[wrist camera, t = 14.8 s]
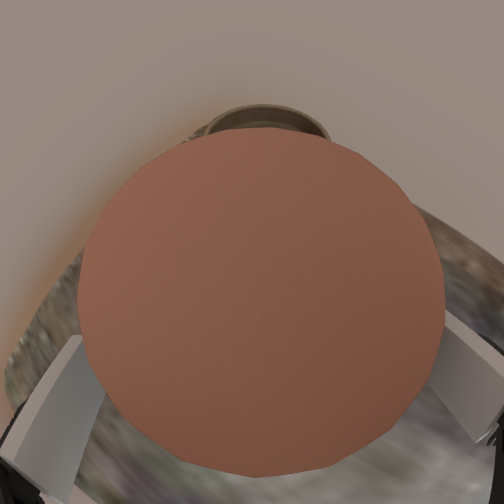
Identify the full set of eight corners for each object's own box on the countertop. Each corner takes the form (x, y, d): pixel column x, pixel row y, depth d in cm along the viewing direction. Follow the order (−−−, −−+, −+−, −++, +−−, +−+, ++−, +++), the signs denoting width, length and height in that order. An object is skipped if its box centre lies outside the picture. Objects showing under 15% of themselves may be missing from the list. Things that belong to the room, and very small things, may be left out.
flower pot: (252, 156, 34) (253, 90, 25) (329, 197, 31) (352, 132, 22) (191, 214, 30) (171, 146, 21) (276, 270, 27) (288, 209, 18)
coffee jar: (201, 287, 25) (135, 128, 9) (315, 294, 25) (404, 144, 9) (189, 401, 20) (51, 428, 4) (313, 408, 20) (453, 446, 4)
